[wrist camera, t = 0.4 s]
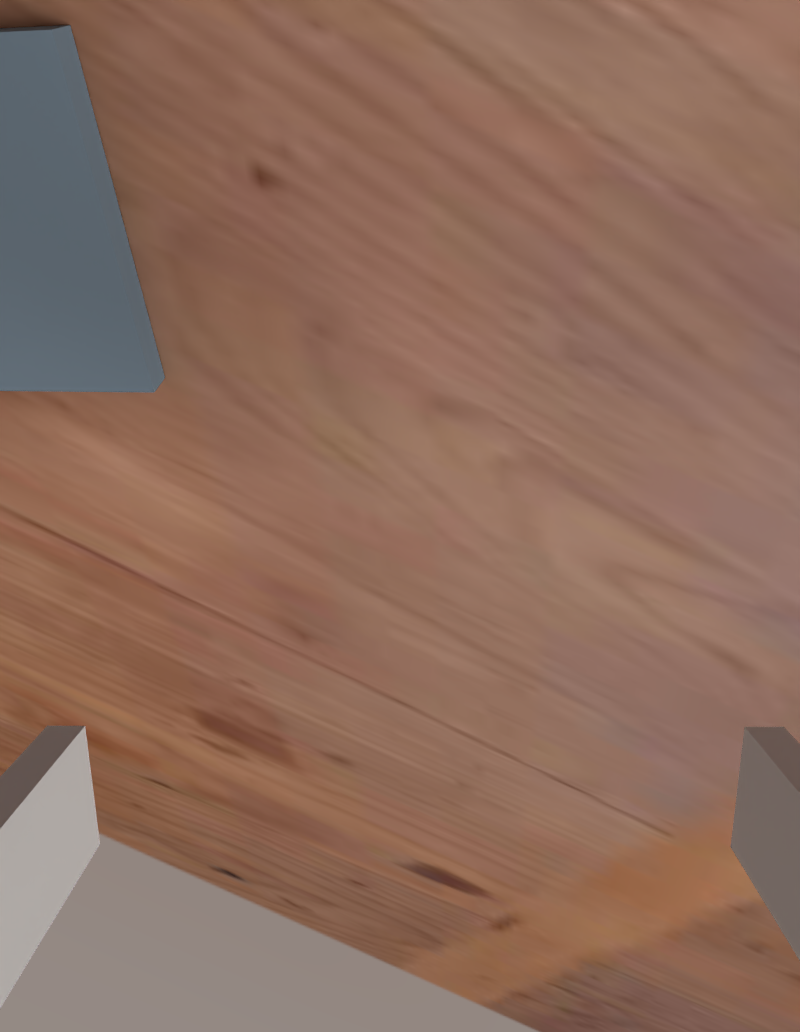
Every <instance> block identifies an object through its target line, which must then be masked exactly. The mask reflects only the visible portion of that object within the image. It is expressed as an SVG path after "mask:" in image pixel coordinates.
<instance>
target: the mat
mask: <svg viewBox="0 0 800 1032" xmlns="http://www.w3.org/2000/svg"><path fill="white" fill-rule="evenodd" d="M164 378H165V376H164V372H163V369H162V365H161V361H160V357H159V354H158V350H157V346H156V342H155V339H154V335H153V331H152V328H151V324H150V320H149V316H148V313H147V309H146V305H145V302H144V298H143V294H142V290H141V287H140V283H139V279H138V276H137V272H136V268H135V264H134V261H133V257H132V253H131V249H130V246H129V242H128V238H127V235H126V231H125V227H124V223H123V220H122V216H121V212H120V209H119V205H118V201H117V197H116V194H115V190H114V186H113V183H112V179H111V175H110V171H109V168H108V164H107V160H106V157H105V153H104V149H103V145H102V142H101V138H100V134H99V130H98V127H97V123H96V119H95V116H94V112H93V108H92V104H91V101H90V97H89V93H88V90H87V86H86V82H85V78H84V75H83V71H82V67H81V64H80V60H79V56H78V52H77V49H76V45H75V41H74V38H73V34H72V30H71V26H70V25H63V26H41V27H20V28H0V391H69V392H155V391H156V389H157V388H158V387H159V385H160V384H161V383H162V381H163V380H164Z"/></svg>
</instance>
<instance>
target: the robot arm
mask: <svg viewBox="0 0 800 1032" xmlns="http://www.w3.org/2000/svg"><path fill="white" fill-rule="evenodd" d="M99 845H100V841H99V833H98V825H97V817H96V809H95V801H94V793H93V785H92V777H91V769H90V761H89V753H88V745H87V738H86V730H85V726H47V727H46V728H45V729H44V730H43V731H42V732H41V733H40V734H39V735H38V737H37V738H36V739H35V740H34V741H33V742H32V743H31V744H30V745H29V746H28V747H27V748H26V750H25V751H24V752H23V753H22V754H21V755H20V756H19V757H18V758H17V759H16V760H15V762H14V763H13V764H12V765H11V766H10V767H9V768H8V769H7V770H6V771H5V772H4V774H3V775H2V776H1V777H0V1008H1V1006H2V1005H3V1003H4V1001H5V1000H6V998H7V996H8V995H9V993H10V991H11V990H12V988H13V987H14V985H15V983H16V982H17V980H18V978H19V977H20V975H21V973H22V972H23V970H24V968H25V967H26V965H27V963H28V962H29V960H30V958H31V957H32V955H33V954H34V952H35V950H36V948H37V947H38V945H39V944H40V942H41V940H42V939H43V937H44V935H45V934H46V932H47V931H48V929H49V927H50V926H51V924H52V922H53V921H54V919H55V917H56V916H57V914H58V912H59V911H60V909H61V907H62V905H63V904H64V902H65V901H66V899H67V898H68V896H69V894H70V893H71V891H72V889H73V888H74V886H75V884H76V883H77V881H78V879H79V877H80V876H81V874H82V873H83V871H84V870H85V868H86V866H87V865H88V863H89V861H90V860H91V858H92V856H93V855H94V853H95V851H96V850H97V848H98V846H99ZM731 848H732V850H733V852H734V853H735V855H736V856H737V858H738V860H739V861H740V863H741V865H742V866H743V868H744V870H745V871H746V873H747V875H748V876H749V878H750V879H751V881H752V883H753V884H754V886H755V888H756V889H757V891H758V893H759V894H760V896H761V898H762V899H763V901H764V903H765V904H766V906H767V907H768V909H769V911H770V912H771V914H772V916H773V917H774V919H775V921H776V922H777V924H778V926H779V927H780V929H781V931H782V932H783V934H784V935H785V937H786V939H787V940H788V942H789V944H790V945H791V947H792V949H793V950H794V952H795V954H796V955H797V957H798V959H799V960H800V744H799V743H798V742H797V740H796V739H795V738H794V737H793V736H792V735H791V734H790V733H789V732H788V731H787V730H786V729H785V727H745V728H744V737H743V745H742V754H741V763H740V771H739V780H738V788H737V797H736V806H735V814H734V823H733V831H732V840H731Z"/></svg>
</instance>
